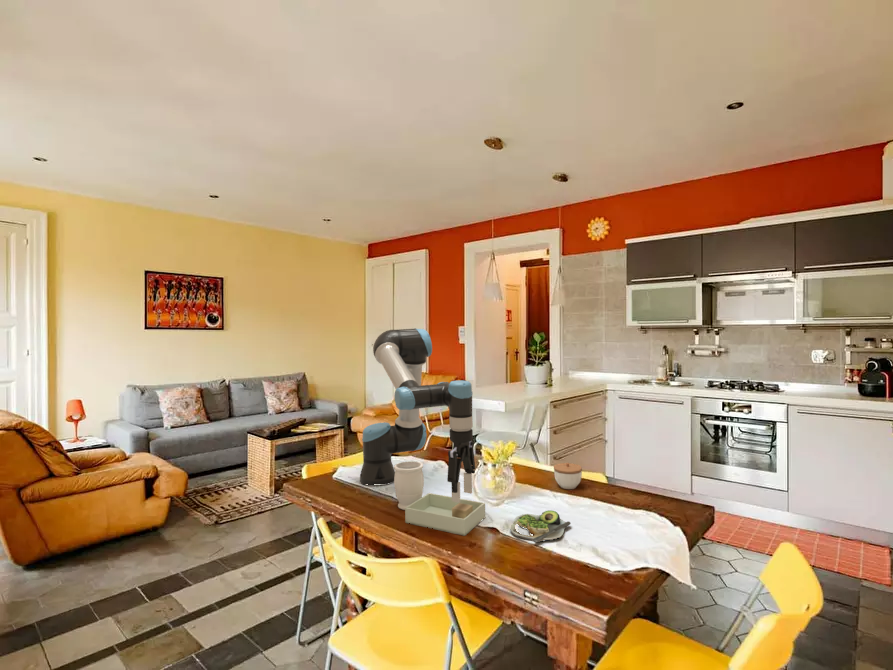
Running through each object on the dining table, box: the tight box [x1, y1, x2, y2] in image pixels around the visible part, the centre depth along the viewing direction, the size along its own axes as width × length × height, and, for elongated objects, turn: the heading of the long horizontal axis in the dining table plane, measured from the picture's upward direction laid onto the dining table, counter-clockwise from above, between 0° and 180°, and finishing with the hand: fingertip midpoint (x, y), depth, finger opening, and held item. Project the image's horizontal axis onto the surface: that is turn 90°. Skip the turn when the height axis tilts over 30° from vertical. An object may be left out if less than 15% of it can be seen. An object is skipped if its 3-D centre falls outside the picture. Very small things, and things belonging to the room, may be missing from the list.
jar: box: [393, 461, 425, 511], centre depth 177 cm, size 11×10×15 cm
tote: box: [404, 492, 486, 537], centre depth 164 cm, size 15×22×5 cm
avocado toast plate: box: [509, 509, 571, 543], centre depth 154 cm, size 19×18×5 cm
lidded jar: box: [553, 462, 583, 490], centre depth 193 cm, size 11×11×9 cm
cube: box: [452, 503, 473, 519], centre depth 161 cm, size 5×5×5 cm
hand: (462, 496), depth 161 cm, fingers open, 8 cm apart
